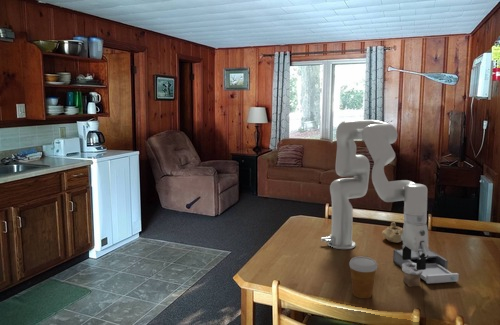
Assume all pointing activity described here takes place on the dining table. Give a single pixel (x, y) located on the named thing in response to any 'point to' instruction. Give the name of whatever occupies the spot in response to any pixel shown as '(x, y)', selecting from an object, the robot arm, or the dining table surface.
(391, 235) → the oil lamp
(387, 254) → the dining table surface
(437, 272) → the tray
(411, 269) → the silver disc
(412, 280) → the walnut block
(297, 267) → the dining table surface
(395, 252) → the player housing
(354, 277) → the disposable coffee cup
